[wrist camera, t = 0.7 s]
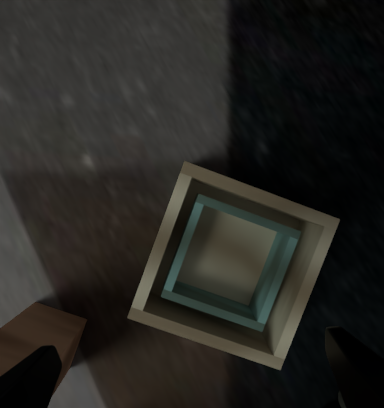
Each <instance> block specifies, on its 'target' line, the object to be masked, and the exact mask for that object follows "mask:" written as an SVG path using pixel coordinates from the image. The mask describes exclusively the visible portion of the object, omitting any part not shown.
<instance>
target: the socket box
mask: <svg viewBox="0 0 384 408" xmlns="http://www.w3.org/2000/svg"><path fill="white" fill-rule="evenodd" d="M339 221H340V219H338V218H335V217H332V216H330V215H327V214H324V213H322V212H319V211H316V210H314V209H311V208H308V207H306V206H303V205H300V204H298V203H295V202H292V201H290V200H287V199H284V198H282V197H279V196H276V195H274V194H271V193H269V192H266V191H263V190H261V189H258V188H255V187H253V186H250V185H247V184H245V183H242V182H239V181H237V180H234V179H231V178H229V177H226V176H223V175H221V174H218V173H215V172H213V171H210V170H207V169H205V168H202V167H199V166H197V165H194V164H191V163H189V162H186V161H184V164H183V167H182V169H181V172H180V175H179V178H178V180H177V183H176V186H175V188H174V191H173V194H172V197H171V199H170V202H169V205H168V208H167V210H166V213H165V216H164V219H163V221H162V224H161V227H160V229H159V232H158V235H157V238H156V240H155V243H154V246H153V249H152V251H151V254H150V257H149V260H148V262H147V265H146V268H145V271H144V273H143V276H142V279H141V281H140V284H139V287H138V290H137V292H136V295H135V298H134V301H133V303H132V306H131V309H130V312H129V314H128V317H127V318H128V319H131V320H134V321H137V322H140V323H143V324H146V325H149V326H152V327H155V328H158V329H160V330H163V331H166V332H169V333H172V334H175V335H178V336H181V337H184V338H187V339H190V340H193V341H196V342H199V343H202V344H205V345H208V346H211V347H214V348H216V349H219V350H222V351H225V352H228V353H231V354H234V355H237V356H240V357H243V358H246V359H249V360H252V361H255V362H258V363H261V364H264V365H267V366H270V367H272V368H275V369H278V370H281V367H282V365H283V362H284V360H285V357H286V355H287V352H288V350H289V347H290V345H291V342H292V339H293V337H294V334H295V332H296V329H297V327H298V324H299V322H300V319H301V317H302V314H303V312H304V309H305V307H306V304H307V302H308V299H309V297H310V294H311V292H312V289H313V287H314V284H315V282H316V279H317V277H318V274H319V272H320V269H321V266H322V264H323V261H324V259H325V256H326V254H327V251H328V249H329V246H330V244H331V241H332V239H333V236H334V234H335V231H336V229H337V226H338V224H339Z"/></svg>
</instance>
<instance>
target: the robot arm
mask: <svg viewBox="0 0 384 408" xmlns="http://www.w3.org/2000/svg"><path fill="white" fill-rule="evenodd" d="M325 349H326V354H327V357H328V360H329V363H330V365H331V368H332V371H333V374H334V376H335V379H336V382H337V384H338V387H339V390H340V392H341V395H342V398H343V401H344V403H345V406H346V408H384V359H383V358H381V357H380V356H379V355H377V354H376V353H375V352H373V351H372V350H371V349H369V348H368V347H367V346H365V345H364V344H363V343H362V342H360V341H359V340H358V339H356V338H355V337H354V336H352V335H351V334H350V333H348V332H347V331H346V330H344V329H343V328H342V327H339V326H336V327H327V328H326V330H325ZM61 369H62V361H61V359H60V356H59V354H58V351H57V349H56V347H55V346H54V345H44V346H41V347H39V348H38V349H37V350H35V351H34V352H33V353H31V354H30V355H29V356H27V357H26V358H24V359H23V360H22V361H20V362H19V363H18V364H16V365H15V366H14V367H12V368H11V369H10V370H8V371H7V372H6V373H4V374H3V375H1V376H0V408H47V407H48V405H49V402H50V399H51V397H52V394H53V391H54V389H55V386H56V383H57V380H58V378H59V375H60V372H61Z"/></svg>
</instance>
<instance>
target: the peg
mask: <svg viewBox="0 0 384 408" xmlns="http://www.w3.org/2000/svg"><path fill="white" fill-rule="evenodd" d="M86 322H87V319H85V318H82V317H79V316H76V315H73V314H70V313H67V312H64V311H61V310H58V309H55V308H52V307H49V306H46V305H43V304H40V303H37V302H35V303H33V304H32V305H31V306H29V307H28V308H27V309H25V310H24V311H23V312H21V313H20V314H19V315H17V316H16V317H15V318H13V319H12V320H11V321H10V322H8V323H7V324H6V325H4V326H3V327H2V328H0V376H1V375H3V374H4V373H6V372H7V371H8V370H10V369H11V368H12V367H14V366H15V365H16V364H18V363H19V362H20V361H22V360H23V359H24V358H26V357H27V356H29V355H30V354H31V353H33V352H34V351H35V350H37V349H38V348H39V347H41V346H44V345H54V346H55V347H56V349H57V351H58V354H59V356H60V359H61V361H62V369H61V372H60V375H59V378H58V380H57V383H56V386H55V389H54V391H53V394H54V392H55V391H56V389H57V387H58V386H59V384H60V383H61V381H62V380H63V378H64V377H65V375H66V373H67V372H68V370H69V369H70V366H71V363H72V361H73V358H74V355H75V352H76V350H77V347H78V344H79V341H80V338H81V336H82V333H83V330H84V327H85V324H86ZM53 394H52V395H53Z"/></svg>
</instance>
